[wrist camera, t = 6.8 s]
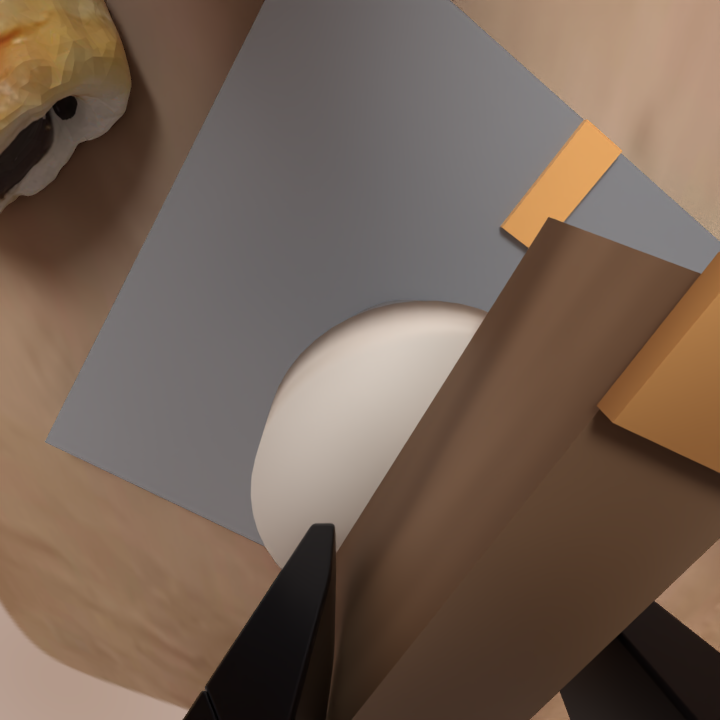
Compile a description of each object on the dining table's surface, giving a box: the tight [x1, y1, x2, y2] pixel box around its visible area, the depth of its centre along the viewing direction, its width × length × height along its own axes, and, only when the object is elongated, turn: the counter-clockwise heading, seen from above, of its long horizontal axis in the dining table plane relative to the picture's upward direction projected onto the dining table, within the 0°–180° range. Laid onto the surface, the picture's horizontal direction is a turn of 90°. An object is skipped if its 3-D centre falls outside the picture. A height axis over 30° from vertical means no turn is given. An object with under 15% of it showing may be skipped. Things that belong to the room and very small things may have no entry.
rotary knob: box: [251, 217, 720, 720], centre depth 9 cm, size 7×11×6 cm, turn 154°
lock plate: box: [45, 0, 720, 546], centre depth 13 cm, size 16×16×4 cm
